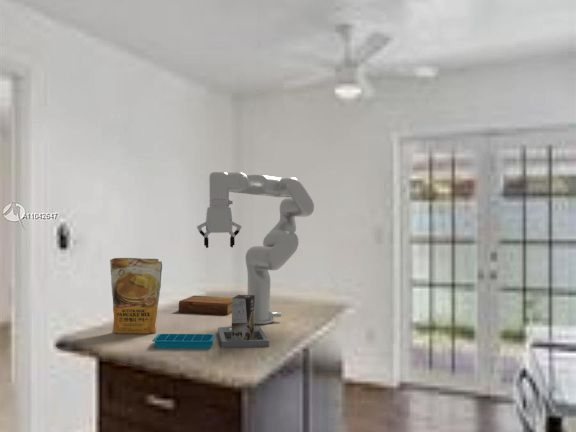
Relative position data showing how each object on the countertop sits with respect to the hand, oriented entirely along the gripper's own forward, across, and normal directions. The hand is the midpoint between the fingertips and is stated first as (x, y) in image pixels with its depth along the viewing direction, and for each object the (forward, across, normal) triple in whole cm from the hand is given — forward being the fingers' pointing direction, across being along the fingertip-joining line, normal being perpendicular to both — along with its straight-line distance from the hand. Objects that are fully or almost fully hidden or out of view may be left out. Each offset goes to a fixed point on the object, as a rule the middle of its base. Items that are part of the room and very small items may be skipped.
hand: (219, 247), depth 229 cm
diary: (+33, -1, -41) cm, 53 cm away
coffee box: (+32, -5, +24) cm, 40 cm away
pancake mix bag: (+32, +32, +2) cm, 45 cm away
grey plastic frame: (+32, -6, +21) cm, 38 cm away
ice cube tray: (+32, +15, +26) cm, 44 cm away
